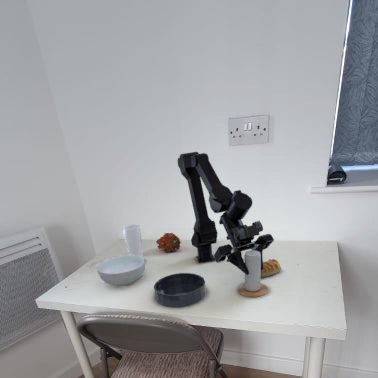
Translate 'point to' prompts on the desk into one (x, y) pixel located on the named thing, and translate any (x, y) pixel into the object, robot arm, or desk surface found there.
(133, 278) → the cereal bowl
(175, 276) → the pan
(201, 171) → the robot arm
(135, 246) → the drinking glass
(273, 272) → the pastry
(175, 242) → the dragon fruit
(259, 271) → the beverage can
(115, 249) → the desk surface
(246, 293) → the coaster
